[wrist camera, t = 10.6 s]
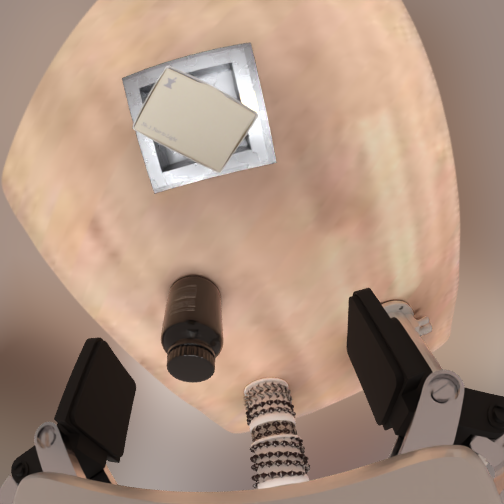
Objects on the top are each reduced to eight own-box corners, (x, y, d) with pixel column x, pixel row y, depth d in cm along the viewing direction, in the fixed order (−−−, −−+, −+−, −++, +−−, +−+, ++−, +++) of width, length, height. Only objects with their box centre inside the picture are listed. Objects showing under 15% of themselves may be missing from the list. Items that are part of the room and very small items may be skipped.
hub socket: (249, 44, 22) (256, 30, 17) (274, 160, 28) (286, 172, 23) (125, 79, 22) (104, 73, 17) (156, 190, 28) (143, 208, 24)
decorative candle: (231, 390, 47) (243, 517, 25) (271, 369, 45) (299, 507, 23) (261, 406, 51) (279, 517, 29) (299, 387, 49) (329, 504, 27)
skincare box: (165, 120, 24) (125, 129, 13) (188, 82, 23) (164, 61, 12) (219, 150, 26) (218, 178, 16) (243, 113, 25) (261, 113, 14)
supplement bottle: (165, 309, 36) (152, 381, 26) (174, 268, 33) (158, 340, 23) (214, 320, 38) (215, 392, 27) (227, 280, 35) (232, 354, 24)
